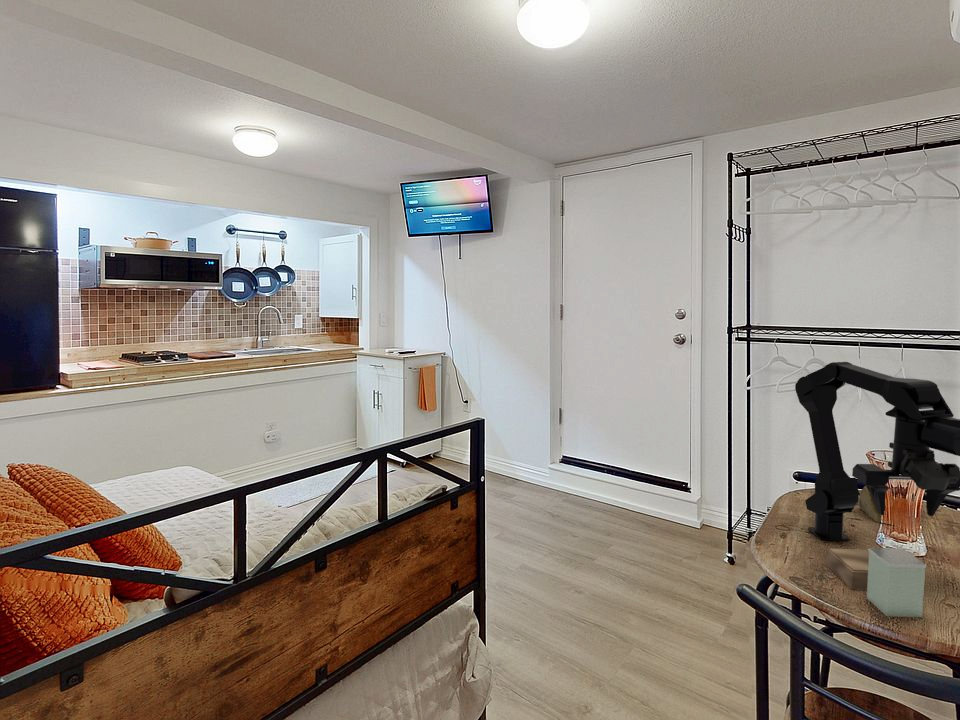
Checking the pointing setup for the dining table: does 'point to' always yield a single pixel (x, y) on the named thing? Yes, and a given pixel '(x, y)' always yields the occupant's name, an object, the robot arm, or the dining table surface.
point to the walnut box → (850, 566)
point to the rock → (869, 505)
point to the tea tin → (896, 582)
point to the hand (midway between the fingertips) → (905, 514)
